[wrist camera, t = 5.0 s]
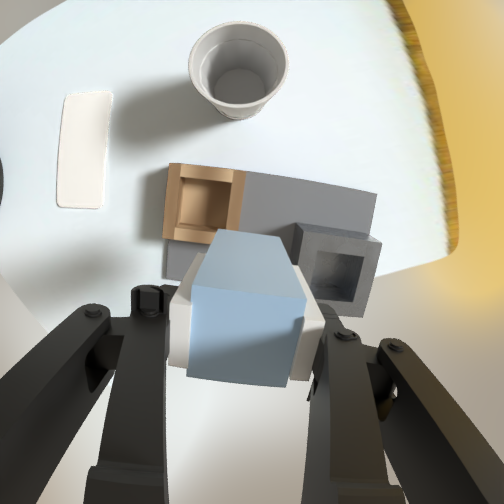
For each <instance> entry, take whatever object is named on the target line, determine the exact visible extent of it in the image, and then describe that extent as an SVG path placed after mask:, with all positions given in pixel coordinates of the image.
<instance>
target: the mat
mask: <svg viewBox="0 0 504 504" xmlns="http://www.w3.org/2000/svg"><path fill="white" fill-rule="evenodd" d="M180 164H181V163H180ZM190 165H191V164H190ZM200 166H201V165H200ZM209 167H210V166H209ZM218 168H219V167H218ZM226 169H227V168H226ZM234 170H235V169H234ZM242 171H243V170H242ZM376 197H377V194H375V193H370V192H366V191H361V190H356V189H351V188H346V187H341V186H336V185H330V184H325V183H320V182H314V181H308V180H302V179H296V178H290V177H284V176H278V175H271V174H264V173H257V172H250V171H246V179H245V186H244V193H243V200H242V207H241V215H240V222H239V229H238V231H240V232H247V233H255V234H262V235H269V236H276V237H280V239H281V241H282V243H283V246H284V248H285V250H286V252H287V255H288V257H289V258H290V252H291V247H292V241H293V235H294V230H295V224H296V222H298V223H305V224H312V225H318V226H325V227H331V228H338V229H344V230H350V231H356V232H362V233H367V234H368V235H369V233H370V228H371V223H372V218H373V213H374V208H375V203H376ZM210 245H211V244H205V243H197V242H189V241H181V240H173V239H169V242H168V257H167V274H166V279H171V280H178V281H182V280H183V278H184V276H185V274H186V273H187V271H188V269H189V267H190V266H191V264H192V262H193V260H194V259H195V257H196V255H197V253H205V254H206V253H207V251H208V249H209V247H210Z"/></svg>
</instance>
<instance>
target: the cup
mask: <svg viewBox="0 0 504 504" xmlns="http://www.w3.org/2000/svg"><path fill="white" fill-rule="evenodd" d="M188 69H189V75H190V78H191V81H192V83H193V85H194V86H195V88H196V89H197V90H198V92H199V93H200V94H201V95H202V96H204V97H205V98H206V99H207V100H208V101H210V102H211V103H212V104H213V105H214V106H215V107H216V108H217V110H218V111H219V112H220V113H221V114H223V115H224V116H226V117H228V118H231V119H235V120H244V119H248V118H251V117H253V116H255V115H256V114H258V113H259V112H260V111H261V110H262V108H263V107H264V105H265V104H266V103H267V102H268V101H269V100H270V99H271V98H272V97H273V96H274V95H275V94H276V93H277V92H278V91H279V90H280V89H281V87H282V86H283V84H284V82H285V80H286V78H287V75H288V71H289V57H288V53H287V50H286V48H285V46H284V44H283V43H282V41H281V40H280V39H279V38H278V36H277V35H275V34H274V33H273V32H272V31H270V30H269V29H267V28H265V27H263V26H261V25H259V24H256V23H252V22H245V21H234V22H228V23H224V24H220V25H218V26H216V27H214V28H212V29H210V30H208V31H207V32H206V33H204V34H203V35H202V36H201V37H200V38H199V39H198V41H197V42H196V43H195V45H194V46H193V48H192V51H191V53H190V57H189V63H188Z"/></svg>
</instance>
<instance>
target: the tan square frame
mask: <svg viewBox="0 0 504 504" xmlns="http://www.w3.org/2000/svg"><path fill="white" fill-rule="evenodd" d="M245 179H246V171H242V170H234V169H226V168H218V167H209V166H200V165H190V164H180V163H169V170H168V179H167V188H166V198H165V209H164V221H163V234H162V238H165V239H173V240H181V241H189V242H197V243H205V244H211V243H212V241H213V239H214V237H215V234H216V232H217V230H218V229H225V230H232V231H238V229H239V222H240V215H241V207H242V200H243V193H244V186H245Z"/></svg>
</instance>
